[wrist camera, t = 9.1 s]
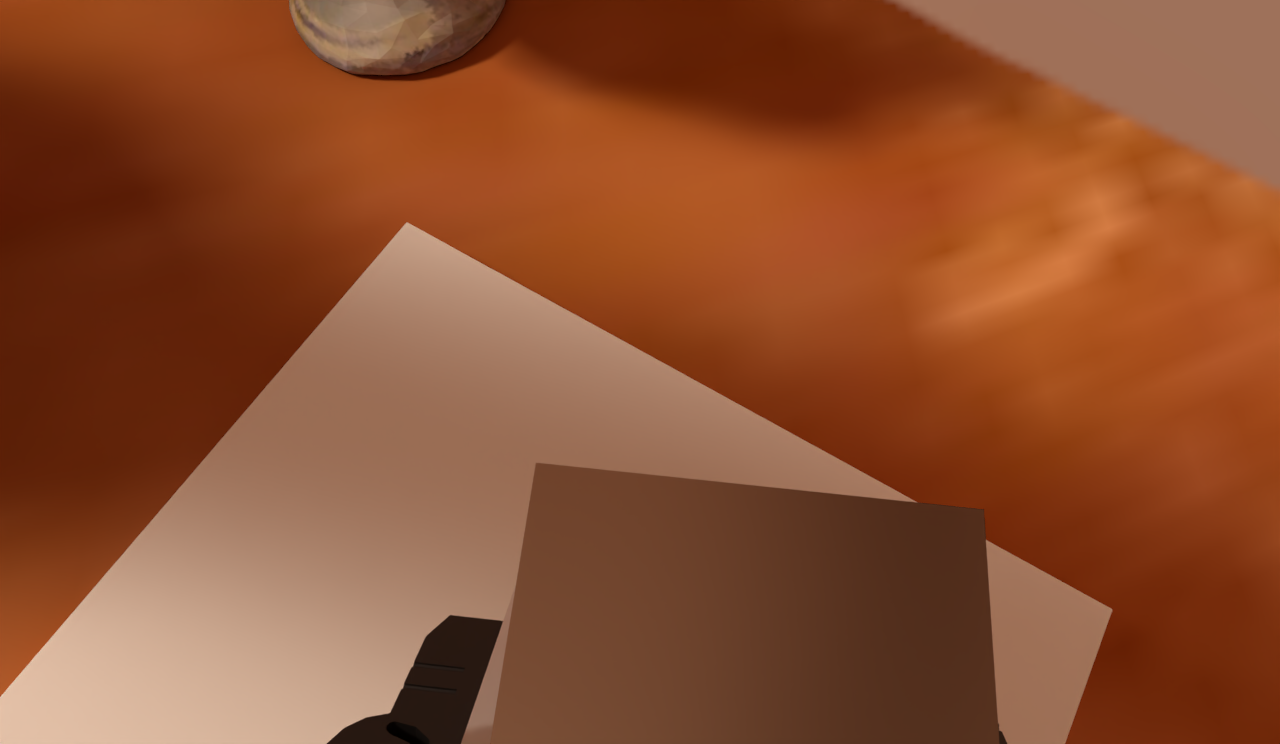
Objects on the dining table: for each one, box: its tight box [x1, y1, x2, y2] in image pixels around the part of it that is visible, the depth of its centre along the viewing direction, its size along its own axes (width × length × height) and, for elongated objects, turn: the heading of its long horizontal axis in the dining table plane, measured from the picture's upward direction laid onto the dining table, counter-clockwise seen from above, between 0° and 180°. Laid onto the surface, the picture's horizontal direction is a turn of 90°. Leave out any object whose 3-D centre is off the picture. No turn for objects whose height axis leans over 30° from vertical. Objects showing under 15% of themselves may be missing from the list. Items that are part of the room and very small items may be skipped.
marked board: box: [0, 222, 1113, 744], centre depth 18 cm, size 20×16×1 cm
